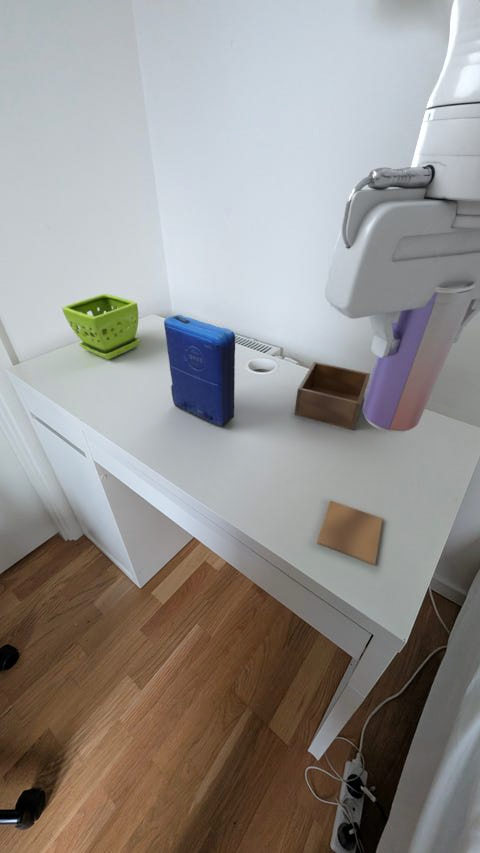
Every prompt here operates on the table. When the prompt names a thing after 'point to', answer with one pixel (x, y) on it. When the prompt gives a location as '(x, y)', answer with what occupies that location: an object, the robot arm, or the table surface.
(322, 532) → the cork mat
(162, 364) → the table surface
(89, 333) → the flower pot
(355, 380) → the wooden box
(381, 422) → the beverage can
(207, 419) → the blue plastic case
